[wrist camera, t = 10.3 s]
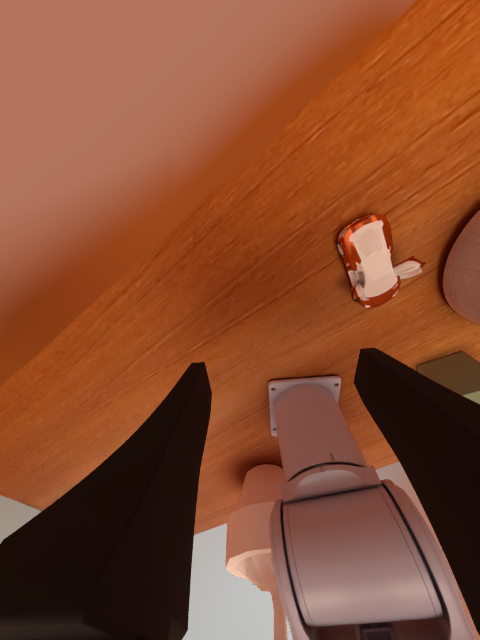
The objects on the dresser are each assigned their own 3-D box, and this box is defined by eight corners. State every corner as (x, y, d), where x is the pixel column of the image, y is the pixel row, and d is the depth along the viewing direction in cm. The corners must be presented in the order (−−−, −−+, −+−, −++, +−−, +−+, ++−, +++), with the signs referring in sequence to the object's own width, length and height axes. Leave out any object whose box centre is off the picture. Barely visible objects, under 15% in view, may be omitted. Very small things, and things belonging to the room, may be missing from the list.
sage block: (462, 380, 24) (506, 414, 20) (419, 392, 25) (453, 427, 21) (462, 350, 22) (510, 382, 18) (416, 365, 23) (452, 398, 19)
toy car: (347, 314, 20) (365, 331, 17) (322, 234, 17) (338, 240, 14) (405, 290, 19) (434, 304, 16) (390, 199, 16) (422, 197, 13)
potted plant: (302, 491, 36) (401, 954, 14) (232, 493, 36) (219, 945, 14) (307, 445, 30) (499, 1131, 8) (224, 448, 30) (180, 1106, 8)
